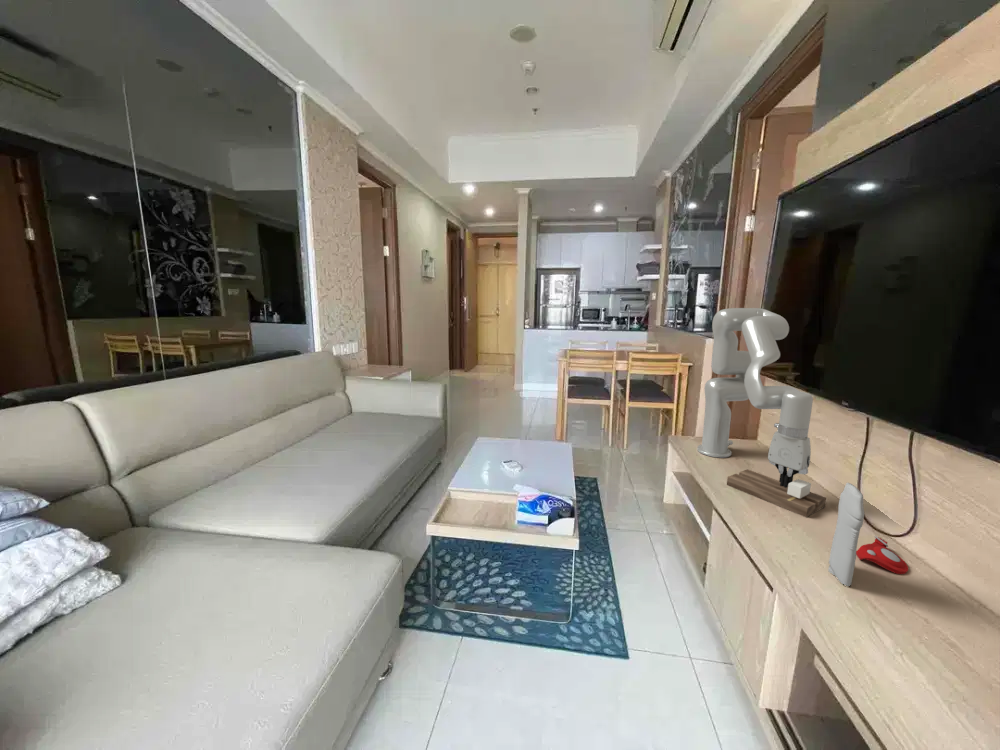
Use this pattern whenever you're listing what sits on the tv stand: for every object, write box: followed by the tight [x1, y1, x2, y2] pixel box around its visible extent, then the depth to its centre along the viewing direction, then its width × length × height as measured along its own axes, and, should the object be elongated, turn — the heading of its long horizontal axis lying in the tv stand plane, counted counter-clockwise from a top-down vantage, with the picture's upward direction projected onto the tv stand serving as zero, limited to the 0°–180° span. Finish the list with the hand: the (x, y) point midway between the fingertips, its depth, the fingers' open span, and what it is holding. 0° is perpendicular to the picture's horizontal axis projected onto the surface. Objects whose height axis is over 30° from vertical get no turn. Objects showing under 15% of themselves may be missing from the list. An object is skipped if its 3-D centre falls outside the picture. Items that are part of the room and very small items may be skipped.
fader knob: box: [787, 478, 812, 498], centre depth 126 cm, size 6×4×5 cm, turn 120°
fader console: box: [726, 468, 827, 518], centre depth 132 cm, size 12×24×3 cm, turn 30°
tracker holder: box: [856, 535, 909, 575], centre depth 100 cm, size 12×4×10 cm
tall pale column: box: [828, 482, 865, 587], centre depth 93 cm, size 11×4×22 cm, turn 157°
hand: (785, 485), depth 129 cm, fingers closed
